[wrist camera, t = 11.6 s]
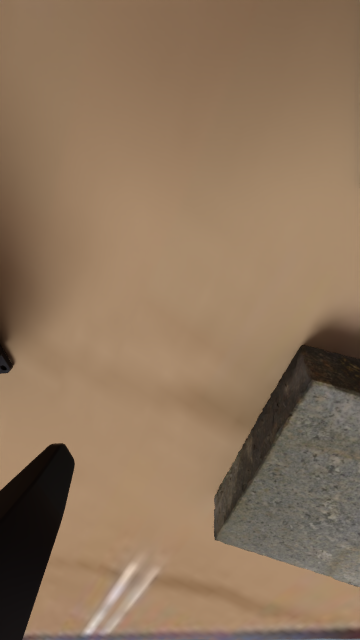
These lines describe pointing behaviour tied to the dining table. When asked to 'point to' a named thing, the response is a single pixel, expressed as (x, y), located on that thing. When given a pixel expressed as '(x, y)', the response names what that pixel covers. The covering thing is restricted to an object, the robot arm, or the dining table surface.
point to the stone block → (301, 471)
